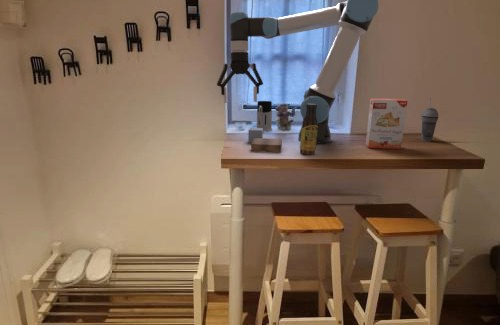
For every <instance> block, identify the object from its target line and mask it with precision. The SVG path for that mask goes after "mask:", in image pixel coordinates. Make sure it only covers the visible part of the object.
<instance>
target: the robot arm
mask: <svg viewBox="0 0 500 325" xmlns="http://www.w3.org/2000/svg"><path fill="white" fill-rule="evenodd" d="M378 10H379V0H346V1H342V2H338V3H337V4H336V6H331V7H325V8H321V9H320V8H319V9H317V10H312V11H306V12H301V13H295V14H293V15H292V14H291V15H286V16H282V17H274V16H261V17H249V15H248V13H247V12H243V11H236V12H231V13H230V16H229V17H230V19H229V20H230V21H229V23H230V24H229V30H230V31H229V32H230V33H229V34H230V51H231V53H230V64H228V63H224V64H223V67H222V68H223V69H222V71H221V73H220V75H219V78H218V80H217V83H216V86H218V87H220V92H221V95H222V96H223V103H224V104H228V103H227V102H228V101H227V99H228V98H227V96H228V95H227V92H228V91H227V84H228V83H229V82H230V80H231V79H232V78H233V76H234V75H246V76H247V78H248V79H249V80H250V81H251V82H252V83H253V85H254V86H253V102H256V103H258V96H257V95H259V93H260V86H263V85H264V82H263V79H262V77H261V76H260V73H259V71H258V68H257V64H256V63H254V62H253V63H249V52H248V51H249V37H250V38H252V37H257V38H258V37H260V38H264V39H265V40H266V39H267V40H269V39H273V38H277V37H282V36H287V35H293V34H297V33H302V32H308V31H312V30H318V29H324V28H328V27H334V26H339V29H338V32H337V34H336V36H335V38H334V40H333V43H332V44H331V48H330V50H329V52H328V54H327V57H326V59H325V61H324V63H323V65H322V68H321V69H320V71H319V74H318V77H317V79H316V82H315V83H314V84H313V85H311V86H309V88H308V89H307V90H305V91H304V95H303V101H302V102H301V104H300V109H299V111H300V115H301V117H302V121H303V120H304V118H305V116H306V110H307V107H306V105H307V104H317V108H316V118H317V124H318V129H317V140H316V144H327V143H330V142H331V141H332V135H331V130H330V127H329V120H330V111H331V109H332V106H333V104H334V102H335V99H336V95H335V91H336V89H337V87H338V84H339V83H340V80H341V79H342V76H343V74H344V72H345V70H346V67H347V65H348V63H349V61H350V58H351V57H352V55H353V53H354V51H355V48H356V46H357V43H358V42H359V40H360V37H361V36H362V35H364V34H365V33H366V34H367V32H368V30H369V27H370V26H371V23H372V21H373V18H374V17H375V16H376V14H377V13H378ZM229 68H230V69H231V71H230V73H229V74H228V75H227V77H226V78H225V75H226V74H227V71H228V70H229ZM249 68H250V69H252V71H253V74H254V76H253V75H252V74H251V72H250V71H249ZM254 77H255V78H254ZM224 78H225V79H224ZM223 80H224V81H223ZM301 131H302V126H301V128H300V130H299V132H298V137H297V139H298V141H300V142H301Z"/></svg>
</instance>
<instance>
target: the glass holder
mask: <svg viewBox="0 0 500 325" xmlns="http://www.w3.org/2000/svg"><path fill="white" fill-rule="evenodd" d="M272 107H273V102H272V101H270V100H257V108H256V109H257V110H256V128H263V133H264V132H265V133H266V132H272V131H273V128H272V124H273V123H272V122H273V121H272V120H273V119H272V118H273V110H272V109H273V108H272Z"/></svg>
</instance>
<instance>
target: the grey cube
mask: <svg viewBox="0 0 500 325" xmlns="http://www.w3.org/2000/svg"><path fill="white" fill-rule="evenodd" d="M247 138H248V140H247V142H248V144H252V142H253V140H254V138H264V132H263V128H257V127H249V128H248V137H247Z"/></svg>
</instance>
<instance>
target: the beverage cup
mask: <svg viewBox="0 0 500 325" xmlns="http://www.w3.org/2000/svg"><path fill="white" fill-rule="evenodd" d="M428 99H429V101H428V102H429V104H428V107H427V108H425V109H424V110H423V111H422V114H421V132H420V134H421V139H420V140H421V141H422V142H426V143H427V142H429V143H430V142H433V137H434V133H435V130H436V125H437V123H438V119H439V112H438V109H436V108H434V107H431V103H432V102H431V100H432V98H431V97H429V98H428Z"/></svg>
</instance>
